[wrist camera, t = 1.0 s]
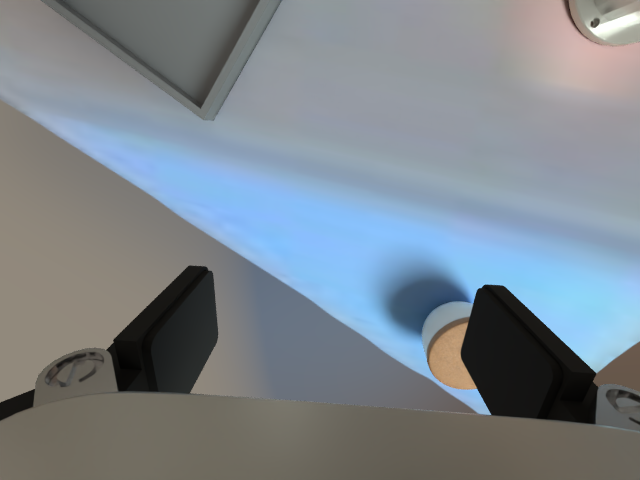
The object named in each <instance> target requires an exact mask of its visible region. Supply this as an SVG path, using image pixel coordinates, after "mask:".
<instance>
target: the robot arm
mask: <svg viewBox="0 0 640 480" xmlns="http://www.w3.org/2000/svg"><path fill="white" fill-rule="evenodd" d="M569 7H570V11H571V16H572V18H573V20H574V22H575V24H576V26H577V28H578V29H579V30H580V31H581V32H582V34H583V35H584V36H586V37H587V38H588V39H590V40H591V41H593V42H596V43H598V44H601V45H606V46H624V45H628V44H632V43H636V42H640V0H569ZM216 315H217V314H216V303H215V291H214V279H213V273H212V271H208V268H207V267H204V266H203V267H202V266H188V267H187V268H186V269H185V270H184V271H183V272H182V273H181V274H180V275H179V276H178V277H177V278H176V279H175V280H174V281H173V282H172V283H171V284H170V285H169V286H168V287H167V288H166V289H165V290H164V291H163V292H162V293H161V294H160V295H158V297H156V298H155V300H154V301H152V302H151V303H150V304H149V305H148V306H147V307H146V308H145V309H144V310H143V311H142V312H141V313H140V314H139V315H138V316H137V317H136V318H135V319H134V320H133V321H132V322H131V323H130V324H129V325H128V326H127V327H126V328H125V329H124V330H123V331H122V332H121V333H120V334H119V335H118V336H117V337H116V338H115V339H114V340H113V341H114V343H113V344H112V345H111V346H110V347H109V348H108V349H107V350H105V349H101V348H87V349H82V350H78V351H74V352H72V353H69V354H66V355H64V356H62V357H60V358H58V359H57V360H55V361H53V362H52V363H51V364H49V365H48V366H47V367H45V368H44V369H43V371H42V372H41V373H40V374H39V375H38V378H37V381H36V385H35V389H34V390H31V391H28V392H26V393H23V394H21V395H18V396H16V397H13V398H11V399H8V400H6V401H3V402H1V403H0V480H640V392H637V391H635V390H632V389H630V388H626V387H624V386H620V385H615V384H604V385H602V386H600V387H599V388H598V387H597V386H596V385H595V384H594V383H593V380H594V377H595V376H596V373H595V372H594V371H593V370H592V369H591V368H590V367H589V366H588V365H587V364H586V363H585V362H584V361H583V360H582V359H581V358H580V357H579V356H577V355H576V354H575V353H574V352H573V351H572V350H571V349H570V348H569V347H568V346H567V345H566V344H565V343H564V342H563V341H562V340H561V339H560V338H558V337H557V336H556V335H555V334H554V333H553V332H552V331H551V330H550V329H549V328H548V327H547V326H546V325H545V324H544V323H543V322H542V321H541V320H539V319H538V318H537V317H536V316H535V315H534V314H533V313H532V312H531V311H530V310H529V309H528V308H527V307H526V306H525V305H524V304H523V303H522V302H520V301H519V300H518V299H517V298H516V297H515V296H514V295H513V294H512V293H511V292H510V291H509V290H508V289H507V288H506V287H504V286H500V285H484V286H483V287H482V288H479V289H478V290H477V292H476V296H475V299H474V303H473V307H472V310H471V314H470V318H469V322H468V325H467V329H466V333H465V336H464V340H463V344H462V347H461V359H462V362H463V363H464V365H465V367H466V369H467V371H468V373H469V374H470V376H471V378H472V380H473V382H474V384H475V386H476V387H477V389H478V391H479V393H480V395H481V397H482V398H483V400H484V402H485V404H486V406H487V408H488V409H489V411H490V413H491V415H482V414H469V413H456V412H441V411H429V410H414V409H401V408H386V407H374V406H360V405H346V404H333V403H319V402H318V403H317V402H305V401H291V400H277V399H263V398H249V397H233V396H219V395H204V394H190V392H191V390H192V388H193V386H194V384H195V382H196V380H197V379H198V377H199V375H200V373H201V371H202V369H203V367H204V365H205V363H206V362H207V360H208V358H209V356H210V354H211V352H212V350H213V348H214V347H215V345H216V343H217V339H218V326H217V316H216Z"/></svg>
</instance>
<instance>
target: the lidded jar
mask: <svg viewBox="0 0 640 480" xmlns="http://www.w3.org/2000/svg"><path fill="white" fill-rule="evenodd" d="M472 307H473V304H472V303H469V302H462V301H454V302H449V303H445V304H442V305H440V306H438V307H437V308H436V309H434V310H433V311H432V312H431V313H430V314H429V315H428V317H427V318H426V320H425V322H424V325H423V329H422V344H423V349H424V352H425V355H426V358H427V362H428V365H429V368H430V370H431V372H432V374H433V375H434V376H435V378H436V379H438V380H439V381H440V382H442V383H443V384H445V385H447V386H450V387H452V388H457V389H477V387H476V386H475V384H474V382H473V380H472V378H471V376H470V374H469V373H468V371H467V369H466V367H465V365H464V363H463V362H462V359H461V347H462V344H463V340H464V336H465V333H466V329H467V325H468V322H469V318H470V314H471V310H472Z"/></svg>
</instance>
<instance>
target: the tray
mask: <svg viewBox="0 0 640 480" xmlns="http://www.w3.org/2000/svg"><path fill="white" fill-rule="evenodd" d="M41 1H42V2H44V3H45V4H47V5H48V6H49V7H51V8H52V9H53V10H55V11H56V12H57V13H59V14H60V15H61V16H63V17H64V18H66V19H67V20H68V21H70V22H71V23H72V24H74V25H75V26H76V27H78V28H79V29H80V30H82V31H83V32H85V33H86V34H87V35H89V36H90V37H91V38H93V39H94V40H95V41H97V42H98V43H100V44H101V45H102V46H104V47H105V48H106V49H108V50H109V51H110V52H112V53H113V54H114V55H116V56H117V57H119V58H120V59H121V60H123V61H124V62H125V63H127V64H128V65H129V66H131V67H132V68H134V69H135V70H136V71H138V72H139V73H140V74H142V75H143V76H144V77H146V78H147V79H148V80H150V81H151V82H153V83H154V84H155V85H157V86H158V87H159V88H161V89H162V90H163V91H165V92H166V93H168V94H169V95H170V96H172V97H173V98H174V99H176V100H177V101H178V102H180V103H181V104H182V105H184V106H185V107H187V108H188V109H189V110H191V111H192V112H193V113H195V114H196V115H197V116H199V117H200V118H201V119H203V120H214V119H215V117H216V115H217V113H218V112H219V110H220V108H221V106H222V105H223V103H224V101H225V99H226V98H227V96H228V94H229V92H230V91H231V89H232V87H233V85H234V84H235V82H236V80H237V78H238V77H239V75H240V73H241V71H242V70H243V68H244V66H245V64H246V62H247V61H248V59H249V57H250V55H251V54H252V52H253V50H254V48H255V47H256V45H257V43H258V41H259V40H260V38H261V36H262V34H263V33H264V31H265V29H266V27H267V26H268V24H269V22H270V20H271V19H272V17H273V15H274V13H275V12H276V10H277V8H278V6H279V5H280V3H281V1H282V0H41Z"/></svg>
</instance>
